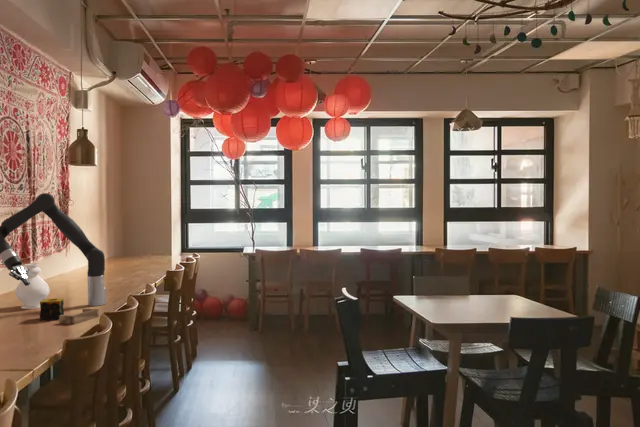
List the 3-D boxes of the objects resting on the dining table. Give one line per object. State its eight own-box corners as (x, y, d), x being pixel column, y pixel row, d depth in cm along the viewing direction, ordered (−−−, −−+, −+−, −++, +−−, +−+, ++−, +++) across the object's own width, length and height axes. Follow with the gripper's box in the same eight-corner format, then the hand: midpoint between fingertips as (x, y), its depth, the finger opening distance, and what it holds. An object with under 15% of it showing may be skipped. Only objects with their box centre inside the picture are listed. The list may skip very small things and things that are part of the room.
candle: (39, 321, 292) (39, 301, 292) (43, 317, 302) (43, 298, 302) (60, 319, 295) (60, 300, 295) (64, 316, 305) (63, 297, 305)
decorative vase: (41, 302, 344) (40, 261, 344) (55, 306, 333) (54, 263, 332) (10, 307, 331) (9, 264, 330) (23, 311, 319) (22, 266, 319)
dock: (59, 323, 286) (59, 315, 286) (84, 315, 305) (84, 308, 304) (74, 324, 284) (74, 316, 284) (98, 316, 302) (98, 309, 302)
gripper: (5, 256, 297) (23, 282, 295) (24, 253, 310) (41, 278, 308) (-4, 264, 299) (14, 290, 296) (15, 262, 312) (32, 287, 309)
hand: (28, 284), depth 302 cm, fingers closed
